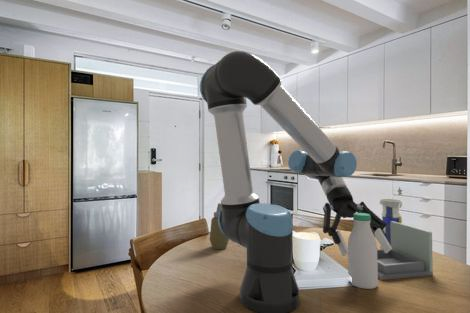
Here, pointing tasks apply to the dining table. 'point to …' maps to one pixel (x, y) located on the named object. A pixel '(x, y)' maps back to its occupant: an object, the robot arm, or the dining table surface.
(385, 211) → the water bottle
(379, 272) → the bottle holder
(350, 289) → the dining table surface
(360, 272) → the milk bottle
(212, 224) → the squeeze bottle
